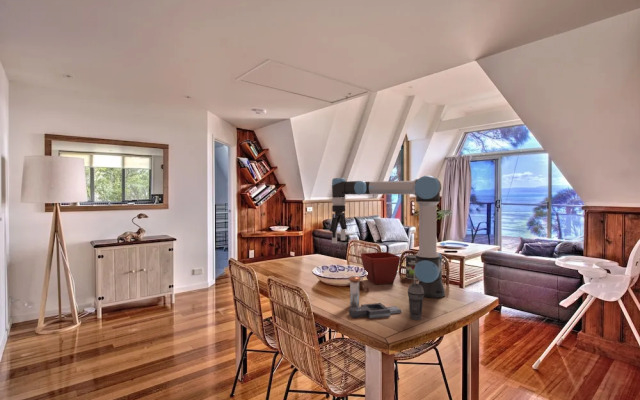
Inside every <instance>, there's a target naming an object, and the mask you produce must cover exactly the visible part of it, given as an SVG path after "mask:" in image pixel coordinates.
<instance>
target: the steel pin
mask: <svg viewBox="0 0 640 400" xmlns="http://www.w3.org/2000/svg"><path fill="white" fill-rule="evenodd" d="M348 281H349V283H350V285H349V288H350V289H349V290H350V291H349V293H350V294H349V302H350V305H349V306H350V308H353V307H360V281H361V277H360V276H357V275H353V276H351V275H350V276H349V277H348Z"/></svg>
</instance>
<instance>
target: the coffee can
mask: <svg viewBox="0 0 640 400" xmlns="http://www.w3.org/2000/svg"><path fill="white" fill-rule="evenodd" d="M415 266H416V254H409V255H408V254H407V255H405V278H406V279H408V280H413V281H414V273H415ZM417 280H418V281H419V279H418V278H417V277H416V275H415V281H417Z"/></svg>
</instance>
